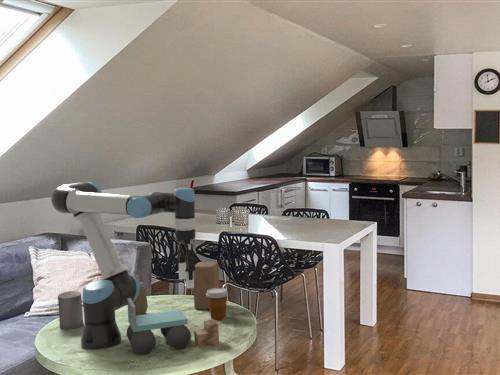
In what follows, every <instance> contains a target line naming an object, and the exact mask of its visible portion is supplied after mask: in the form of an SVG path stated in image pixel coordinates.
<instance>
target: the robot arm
mask: <svg viewBox="0 0 500 375" xmlns="http://www.w3.org/2000/svg"><path fill="white" fill-rule="evenodd" d="M50 202H51V204H52V207H53V208H54V209H55V210H56V211H57V212H59V213H60V214H72V215H73V218H74V220H77V221H79V222H80V225H81V227H82V229H83V233H84V235H85V237H86V239H87V242H88V245H89V247H90V249H91V252H92V254H93V257H94V259H95V261H96V264H97V266H98V268H99V271H100V274H101V277H100V279H99V280H96V281H95V280H94V281H91V282H89V283H87V284H86V285H85V286H84V287H83V289H82V295H81V298H82V310H83V323H84V326H83V330H82V335H81V339H80V346H81V348H83V349H86V350H93V351H94V350H103V349H108V348H109V349H110V348H113V347H115V346H117V345H120V343H121V342H122V334H121V331H120V329H119V327H118V325H117V324H118V323H117V322H116V321H117V320H116V311H117V310H119V309H121V308H124V307H126V306H127V307H128V303H127V298H131V300H132V302H133V301H135V300H136V299H137V297H138V294H139V291H140V286H139V282H138V280H137V279H136V278H135V276H134V275H132V274H130V273H129V270H128V269H127V268H125V267H123V266H122V263H121V262H120V259H119V256H118V254H117V251H116V249H115V246H114V244H113V242H112V240H111V236H110V235H109V232H108V229H107V227H106V224H105V222H104V220H103V217H102V215H101V214H106V215H107V214H109V215H117V216H118V215H121V216H131V218H134V219H143V218H146V217H149V216H153V215H156V214H161V213H174V223H175V224H174V226H175V231H174V232H175V239H176V241H178V248H177V258H176V259H177V261H178V279H179V280H186V281H185V282H186V289H193V288H194V270H195V265H196V263H195V255H194V244H193V243H191V241H192V240H195V239H196V229H195V227H196V222H197V219H196V215H195V214H196V209H195V208H196V207H195V206H196V203H195V202H196V196H195V190H194V189H193V188H191V187H178V188H175V189H174V192H160V191H155V192H153V191H152V192H149V193H148V195H132V194H131V195H130V194H129V195H128V194H117V193H115V194H114V193H104V192H102V190H101V188H100V187H99V186H98V184H95V183H94V182H92V181H91V182H90V181H80V182H75V183H66V184H62V185H60V186H58V187H56V188H55V189H54V190H53V192H52V194H51V200H50Z"/></svg>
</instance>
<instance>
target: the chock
mask: <svg viewBox="0 0 500 375" xmlns="http://www.w3.org/2000/svg"><path fill="white" fill-rule="evenodd" d="M193 338H194V344H195V345H196V346H197V348H199V349H200V348H207V347H211V346H218V345H220V332H219V323H218V322H217V320H214V319H208V320H207V319H206V320H204V321H203V328H199V329H194V330H193Z"/></svg>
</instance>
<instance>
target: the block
mask: <svg viewBox="0 0 500 375" xmlns="http://www.w3.org/2000/svg"><path fill="white" fill-rule="evenodd" d="M219 270H220V269H219V263H218V262H217V261H212V262H211V261H206V262H205V261H199V262H197V263H195V270H194V288H192V289H193V308H194V310H195V309H196V310H209V304H208V298H207V295H206V293H207V290H209V289H213V288H220V275H219V274H220V272H219Z"/></svg>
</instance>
